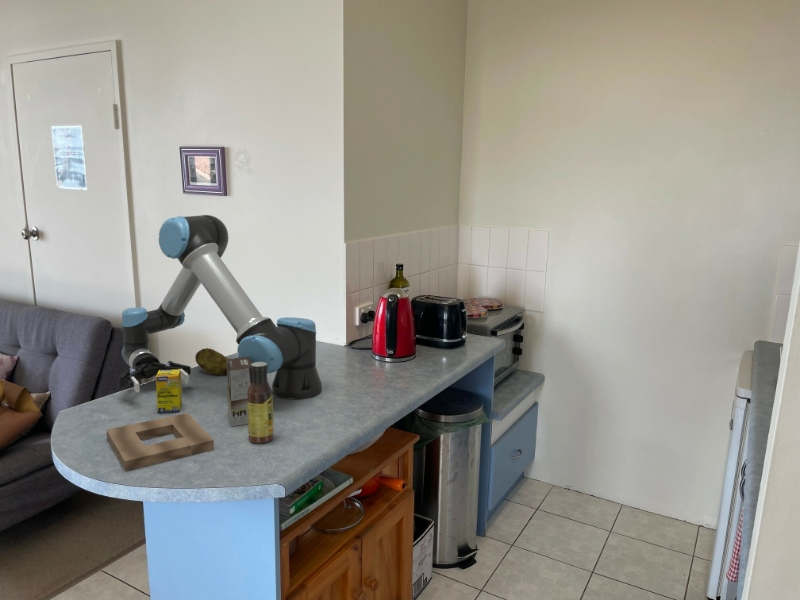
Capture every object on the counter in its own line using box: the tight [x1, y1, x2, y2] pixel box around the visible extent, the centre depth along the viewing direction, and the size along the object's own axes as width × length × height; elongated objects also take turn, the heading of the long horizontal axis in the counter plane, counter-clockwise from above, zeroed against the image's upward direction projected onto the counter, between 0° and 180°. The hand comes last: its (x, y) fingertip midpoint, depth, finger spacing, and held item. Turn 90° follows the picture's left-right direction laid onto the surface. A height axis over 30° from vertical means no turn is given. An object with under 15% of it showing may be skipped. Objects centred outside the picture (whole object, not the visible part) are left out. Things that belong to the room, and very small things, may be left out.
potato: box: [195, 347, 229, 376], centre depth 199 cm, size 8×13×8 cm, turn 58°
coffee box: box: [226, 357, 252, 427], centre depth 162 cm, size 9×6×16 cm
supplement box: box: [155, 369, 183, 414], centre depth 168 cm, size 6×6×11 cm
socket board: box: [106, 412, 215, 472], centre depth 147 cm, size 20×20×2 cm
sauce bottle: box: [247, 362, 274, 444], centre depth 150 cm, size 7×6×20 cm
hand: (163, 383), depth 171 cm, fingers open, 13 cm apart
